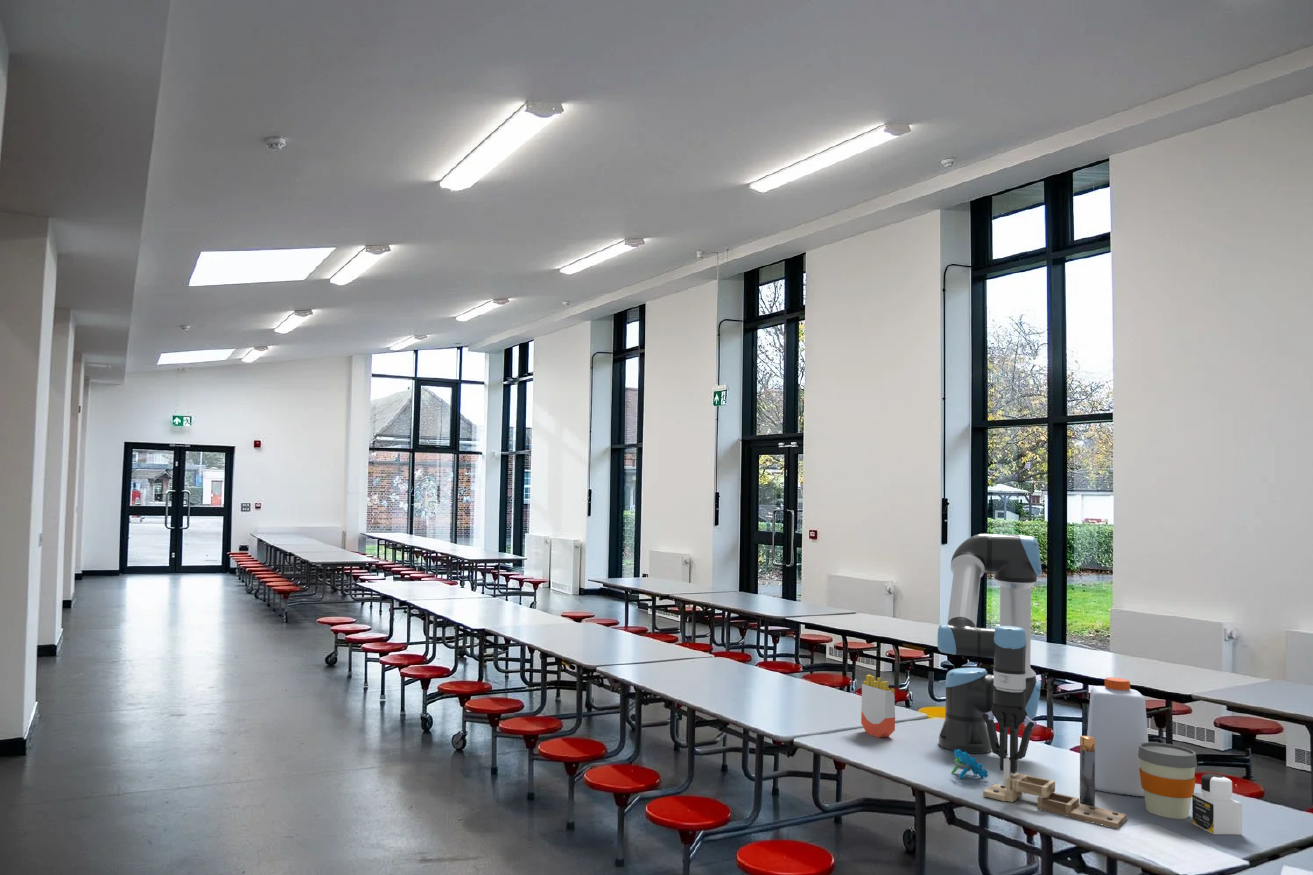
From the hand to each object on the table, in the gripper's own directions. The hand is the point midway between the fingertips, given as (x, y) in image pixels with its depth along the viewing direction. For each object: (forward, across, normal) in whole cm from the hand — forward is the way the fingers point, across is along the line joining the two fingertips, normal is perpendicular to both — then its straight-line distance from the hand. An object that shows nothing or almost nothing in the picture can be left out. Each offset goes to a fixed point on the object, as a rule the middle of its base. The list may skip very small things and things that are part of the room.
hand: (1008, 784), depth 224 cm
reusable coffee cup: (+3, +32, +18) cm, 37 cm away
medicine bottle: (+3, +43, +14) cm, 45 cm away
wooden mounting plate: (+3, +17, 0) cm, 17 cm away
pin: (+3, +16, +10) cm, 19 cm away
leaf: (+3, +3, 0) cm, 4 cm away
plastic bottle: (+3, +18, +31) cm, 36 cm away
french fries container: (+3, -52, +33) cm, 61 cm away
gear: (+3, -14, +10) cm, 17 cm away
